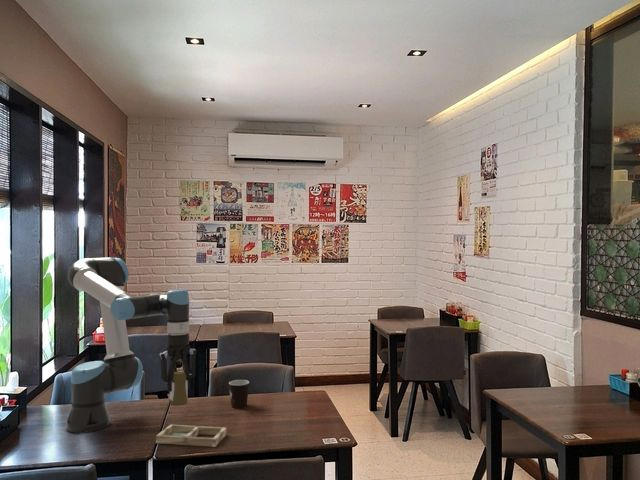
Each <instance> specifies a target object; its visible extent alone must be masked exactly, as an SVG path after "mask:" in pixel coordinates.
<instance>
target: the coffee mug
mask: <svg viewBox="0 0 640 480" xmlns="http://www.w3.org/2000/svg"><path fill="white" fill-rule="evenodd" d="M228 387H229V397H230V407H231V408H233V409H239V410H240V409H245V408H246V407H247V406H248V405H247V404H248V396H249V388H250V381H249V380H247V379H235V380H231V381H229V382H228Z"/></svg>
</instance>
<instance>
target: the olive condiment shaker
mask: <svg viewBox="0 0 640 480" xmlns="http://www.w3.org/2000/svg"><path fill="white" fill-rule="evenodd" d="M185 380H186V373H185V372H183V371H174V375H173V380H172V381H173V382H174V396H173V401H172V399H171V400H170V403H169V404H170V406H179V407H180V406H185V405H187V404H188V401H189V400H188V399H187V394H186V387H185Z"/></svg>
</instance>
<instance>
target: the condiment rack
mask: <svg viewBox="0 0 640 480" xmlns="http://www.w3.org/2000/svg"><path fill="white" fill-rule="evenodd" d="M198 435H206V436H207V435H208V436H209V435H211V436H214V437H204V436H203V437H201V436H198ZM226 436H227V427H222V426H205V425H204V426H203V425H188V424H173V423H172V424H169V425H168V426H167V427H165V428H164V429H163V430H162V431H160V432H158V433H157V435H155V444H166V445H178V446H179V445H180V446H181V445H182V446H196V447H211V448H213V447H214V448H215V447H217V446H218V445H219V443H220V442H221V441H222V440H223V439H224V438H225V437H226Z"/></svg>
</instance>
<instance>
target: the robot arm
mask: <svg viewBox="0 0 640 480" xmlns="http://www.w3.org/2000/svg"><path fill="white" fill-rule="evenodd" d="M129 273H130V272H129V269H128V266H127V264H126V263H125V261H124V260H123V259H122V258H119V257H111V256H110V257H92V258H91V257H90V258H89V257H87V258H85V257H84V258H81V259H78V260H76V261H74V262H73V263H72V264H71V265H70V267H69V269H68V272H67V280H68V282H69V284H70V286H71V287H73V288H74V289H76V290H77V291H79V292H85V293H87V294H88V295H90V296H91V297H93V298H94V299H95V300H97V301H99V305H100V312H101V321H102V329H103V336H104V341H105V342H104V343H105V349H106V355H105V356H104V358H103V360H94V361H87V362H84V363H81V364H79V365H77V366H75V367H74V368H73V369H72V372H71V378H70V386H71V408H70V412H69V415H68V416H67V420H66V423H65V424H66V425H65V426H66V431H67V432H70V433H75V434H76V433H77V434H78V433H79V434H83V433H91V432H96V431H100V430H102V429H105V428H107V427H108V426H109V425H110V424H111V417H110V414H109V411H108V407H107V406H106V395H108V394H113V393H116V392H121V391H124V390H125V391H127V390H129V389H131V388H134V387H136V386H138V385H139V384H140V382H141V380H142V377H143V373H144V372H143V371H144V368H143V363H142V361H141V360H140V358H138V357H136V356H135V353H134V352H133V351H131V350H130V344H129V337H128V329H127V324H126V322H127V320H130V319H138V318H147V317H154V316H166V318H167V320H166V321H167V323H166V325H167V326H166V333H167V335H166V337H167V338H166V339H167V341H166V343H167V347H166V349H165V351H163V352H160V353H159V354H158V356H159V358H160V370H161V371H160V372H161V381H163V382H165V383H166V390H167V392H168V393H169V400H170V401H171V399H172V401H173V396H174V382H173V381H172V380H173V375H174V372H175V369H176V364H177V362H178V361H181V366H182V372H185V373H186V380H185V387H186V394H187V400H188V397H189V396H188V390H189V389H190V388H191V380H192V378H195V377H196V361H197V360H196V359H197V357H196V355H197V353H198V350H197V349H195V348H191V346H190V333H189V332H190V298H189V296H190V294H189V291H188V290H187V289H169V290H168V291H167V292H166V293H165V294H164V293H163V294H162V293H151V294H149V295H138V296H133V295H131V294H129V293H128V292H126V291H124V289H125V284H126V285H127V283H128V281H129V275H130V274H129ZM188 354H189V363H188V357H187V356H188ZM168 356H169V365H167V364H168V363H167V362H168V361H167V358H168Z"/></svg>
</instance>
